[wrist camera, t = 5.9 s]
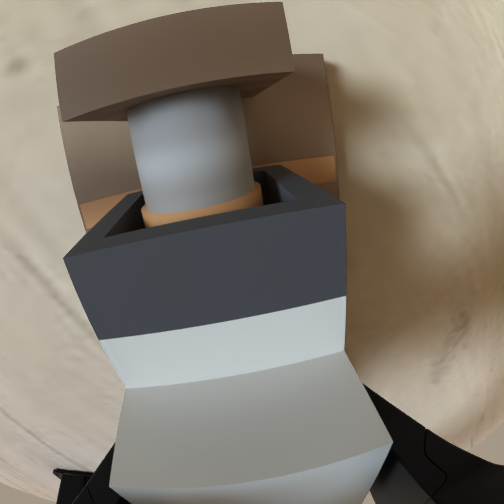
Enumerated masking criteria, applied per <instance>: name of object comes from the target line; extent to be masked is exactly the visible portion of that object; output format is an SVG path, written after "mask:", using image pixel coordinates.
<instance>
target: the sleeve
mask: <svg viewBox="0 0 504 504" xmlns="http://www.w3.org/2000/svg"><path fill="white" fill-rule="evenodd" d="M345 322H346V296H343V297H339V298H335V299H331V300H326V301H322V302H318V303H313V304H309V305H305V306H300V307H296V308H291V309H286V310H282V311H277V312H272V313H267V314H262V315H257V316H252V317H247V318H242V319H236V320H231V321H226V322H220V323H214V324H209V325H203V326H197V327H191V328H185V329H178V330H172V331H165V332H159V333H152V334H145V335H137V336H130V337H122V338H114V339H105V340H99V341H100V343H101V345H102V347H103V349H104V351H105V353H106V354H107V356H108V358H109V360H110V362H111V364H112V365H113V367H114V369H115V371H116V372H117V374H118V376H119V378H120V379H121V381H122V383H123V384H124V386H125V388H126V391H125V396H124V401H123V406H122V411H121V416H120V421H119V426H118V432H117V437H116V443H115V449H114V455H113V461H112V468H111V475H110V483H109V487H110V488H112V489H113V490H114V491H115V492H117V493H118V494H119V495H121V496H122V497H123V498H125V499H126V500H127V501H129V502H130V503H132V504H362V502H363V501H364V499H365V497H366V495H367V494H368V492H369V490H370V488H371V486H372V485H373V483H374V481H375V479H376V477H377V475H378V473H379V471H380V469H381V467H382V465H383V463H384V461H385V459H386V457H387V455H388V452H389V450H390V448H391V446H392V444H393V440H392V439H391V437H390V435H389V433H388V431H387V429H386V427H385V425H384V423H383V421H382V419H381V417H380V416H379V414H378V412H377V410H376V408H375V406H374V404H373V402H372V401H371V399H370V397H369V395H368V393H367V391H366V389H365V388H364V386H363V384H362V382H361V380H360V378H359V377H358V375H357V373H356V371H355V369H354V367H353V366H352V364H351V362H350V360H349V358H348V357H347V355H346V353H345V351H344V344H345Z"/></svg>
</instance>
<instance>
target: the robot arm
mask: <svg viewBox="0 0 504 504" xmlns="http://www.w3.org/2000/svg"><path fill="white" fill-rule="evenodd" d="M362 384H363V383H362ZM363 386H364V388H365V389H366V391H367V393H368V395H369V397H370V399H371V401H372V402H373V404H374V406H375V408H376V410H377V412H378V414H379V416H380V417H381V419H382V421H383V423H384V425H385V427H386V429H387V431H388V433H389V435H390V437H391V439H392V440H393V444H392V446H391V448H390V450H389V452H388V455H387V457H386V459H385V461H384V463H383V465H382V467H381V469H380V471H379V473H378V475H377V477H376V479H375V481H374V483H373V485H372V486H371V488H370V492H371V494H372V497H373V499H374V501H375V503H376V504H504V465H498V464H494V463H491V462H488V461H486V460H484V459H482V458H480V457H477V456H475V455H473V454H471V453H469V452H467V451H465V450H463V449H460V448H459V447H457V446H455V445H453V444H451V443H449V442H447V441H446V440H444V439H442V438H441V437H439V436H438V435H436V434H434V433H433V432H431V431H430V430H429V429H426V428H425V427H424V426H422V425H421V424H420V423H418V422H417V421H415V420H414V419H412V418H411V417H409V416H408V415H406V414H405V413H404V412H402V411H401V410H399V409H398V408H396V407H395V406H394V405H392V404H391V403H389V402H388V401H387V400H385V399H384V398H382V397H381V396H379V395H378V394H377V393H375V392H374V391H372V390H371V389H370V388H368V387H367V386H366V385H364V384H363ZM425 429H426V430H425ZM115 443H116V442H115ZM115 443H114V445H113V446H112V448H111V449H110V451H109V452H108V454H107V455H106V456H105V458H104V459H103V461H102V462H101V464H100V465H99V467H98V468H97V469H96V471H95V472H94V474H93V475H92V474H83V473H75V472H68V471H62V470H56V469H54V470H53V474H54V475H56V476H57V477H58V478H59V479H61V483H60V488H59V492H58V497H57V503H56V504H132V503H130V502H129V501H127V500H126V499H125V498H123V497H122V496H121V495H119V494H118V493H117V492H115V491H114V490H113V489H112V488H110V487H109V483H110V475H111V468H112V461H113V455H114V449H115Z"/></svg>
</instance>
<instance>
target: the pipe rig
mask: <svg viewBox="0 0 504 504" xmlns="http://www.w3.org/2000/svg"><path fill="white" fill-rule="evenodd" d="M54 59H55V71H56V81H57V90H58V98H59V105H60V106H57V109H58V116H59V122H60V128H61V133H62V139H63V144H64V149H65V154H66V158H67V163H68V167H69V172H70V176H71V180H72V184H73V188H74V192H75V196H76V199H77V203H78V207H79V210H80V214H81V217H82V220H83V224H84V227H85V230H86V233H87V232H88V231H89V230H90V229H91V228H92V227H93V226H94V225H95V224H96V223H97V222H99V221H100V220H101V219H102V218H103V217H104V216H105V215H106V214H107V213H108V212H109V211H110V210H111V209H112V208H113V207H114V206H115V205H116V204H117V203H119V202H120V201H121V200H122V199H123V198H124V197H125V196H126V195H127V194H130V193H134V192H138V191H143V195H144V199H145V203H146V204H145V205H144V206H143V207H142V209H141V212H142V216H143V220H144V224H145V227H146V228H149V227H154V226H159V225H164V224H168V223H173V222H178V221H183V220H188V219H193V218H198V217H203V216H208V215H214V214H219V213H224V212H230V211H235V210H240V209H246V208H252V207H257V206H263V199H262V192H261V185H260V184H259V183H258V182H256V181H254V178H253V172H252V169H253V168H260V167H266V166H273V165H282V166H284V167H286V168H287V169H289V170H291V171H293V172H294V173H296V174H298V175H299V176H301V177H303V178H304V179H306V180H308V181H309V182H311V183H313V184H314V185H316V186H318V187H319V188H321V189H323V190H324V191H326V192H327V193H329V194H331V195H332V196H334V197H335V198H337V199H339V188H338V174H337V162H336V150H335V140H334V131H333V122H332V113H331V105H330V98H329V90H328V83H327V77H326V70H325V64H324V58H323V54H293V55H292V51H291V45H290V39H289V34H288V29H287V23H286V18H285V13H284V8H283V3H282V2H264V3H247V4H236V5H226V6H218V7H210V8H204V9H197V10H191V11H186V12H181V13H176V14H171V15H166V16H162V17H158V18H153V19H149V20H146V21H142V22H138V23H135V24H131V25H128V26H124V27H121V28H118V29H115V30H112V31H109V32H106V33H103V34H100V35H97V36H94V37H92V38H89V39H86V40H84V41H81V42H79V43H76V44H74V45H72V46H69V47H67V48H65V49H62V50H60V51H58V52H56V53H54Z"/></svg>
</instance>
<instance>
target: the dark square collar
mask: <svg viewBox="0 0 504 504" xmlns="http://www.w3.org/2000/svg"><path fill="white" fill-rule="evenodd" d="M252 172H253V178H254V181H256V182H258V183H259V184H260V185H261V192H262V199H263V206H257V207H252V208H246V209H240V210H235V211H230V212H224V213H219V214H214V215H208V216H203V217H198V218H193V219H188V220H183V221H178V222H173V223H168V224H164V225H159V226H154V227H149V228H146V227H145V224H144V220H143V216H142V212H141V209H142V207H143V206H144V205H145V204H146V203H145V199H144V195H143V191H138V192H134V193H130V194H127V195H126V196H125V197H124V198H123V199H122V200H121V201H120V202H119V203H117V204H116V205H115V206H114V207H113V208H112V209H111V210H110V211H109V212H108V213H107V214H106V215H105V216H104V217H103V218H102V219H101V220H100V221H99V222H97V223H96V224H95V225H94V226H93V227H92V228H91V229H90V230H89V231H88V232H87V233H86V234H85V235H84V236H83V238H82V239H81V240H80V241H79V242H78V243H77V244H76V245H75V246H74V247H73V248H72V249H71V250H70V251H69V252H68V253H67V254H66V255H65V256H64V258H63V259H64V262H65V265H66V267H67V270H68V273H69V275H70V278H71V280H72V282H73V285H74V287H75V290H76V292H77V294H78V297H79V299H80V301H81V304H82V306H83V308H84V310H85V312H86V315H87V317H88V319H89V321H90V323H91V325H92V327H93V329H94V331H95V333H96V335H97V337H98V339H99V340H105V339H114V338H122V337H130V336H137V335H145V334H152V333H159V332H165V331H172V330H178V329H185V328H191V327H197V326H203V325H209V324H214V323H220V322H226V321H231V320H236V319H242V318H247V317H252V316H257V315H262V314H267V313H272V312H277V311H282V310H286V309H291V308H296V307H300V306H305V305H309V304H313V303H318V302H322V301H326V300H331V299H335V298H339V297H343V296H346V220H345V203H343V202H342V201H340V200H339V199H337V198H335V197H334V196H332V195H331V194H329V193H327V192H326V191H324V190H323V189H321V188H319V187H318V186H316V185H314V184H313V183H311V182H309V181H308V180H306V179H304V178H303V177H301V176H299V175H298V174H296V173H294V172H293V171H291V170H289V169H287V168H286V167H284V166H282V165H273V166H266V167H260V168H253V169H252Z"/></svg>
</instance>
